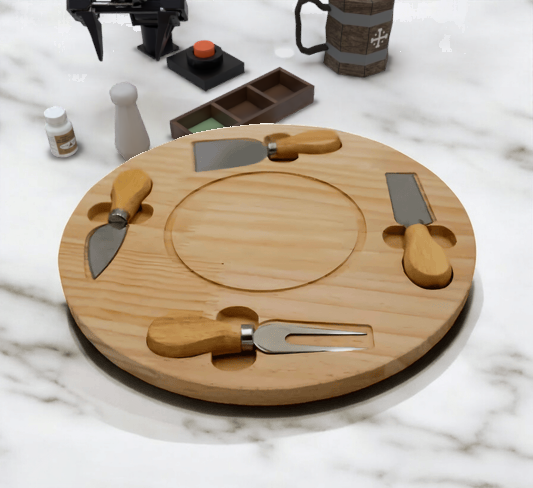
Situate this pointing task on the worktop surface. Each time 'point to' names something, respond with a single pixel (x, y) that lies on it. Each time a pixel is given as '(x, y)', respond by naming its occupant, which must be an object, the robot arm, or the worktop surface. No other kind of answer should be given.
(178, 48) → the robot arm
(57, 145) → the pill bottle
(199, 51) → the button
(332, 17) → the mug
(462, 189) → the worktop surface
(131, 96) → the salt shaker
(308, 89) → the brown compartment tray
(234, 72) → the control block
